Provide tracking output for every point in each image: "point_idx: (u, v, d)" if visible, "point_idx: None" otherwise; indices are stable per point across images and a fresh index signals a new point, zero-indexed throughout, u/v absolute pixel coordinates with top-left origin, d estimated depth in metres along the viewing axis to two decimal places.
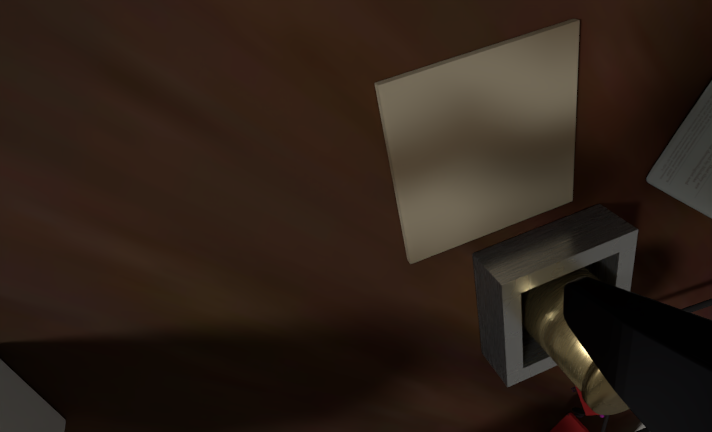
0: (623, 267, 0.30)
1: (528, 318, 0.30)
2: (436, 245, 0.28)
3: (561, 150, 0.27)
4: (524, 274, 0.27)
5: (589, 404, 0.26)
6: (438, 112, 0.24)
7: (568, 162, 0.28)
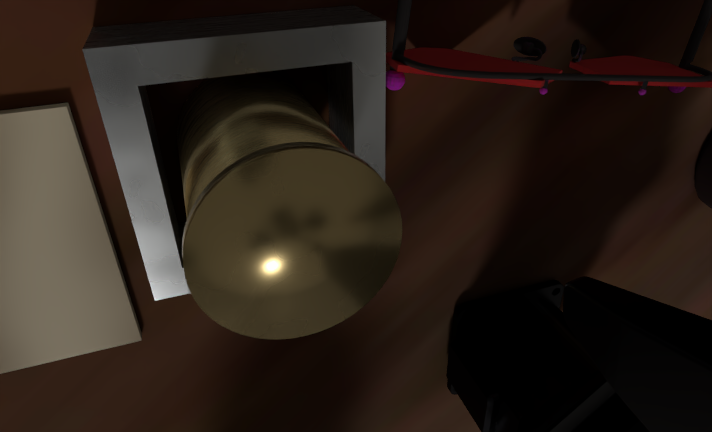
0: (184, 65, 0.14)
1: None
2: (116, 314, 0.21)
3: None
4: (145, 266, 0.17)
5: (330, 325, 0.14)
6: None
7: None
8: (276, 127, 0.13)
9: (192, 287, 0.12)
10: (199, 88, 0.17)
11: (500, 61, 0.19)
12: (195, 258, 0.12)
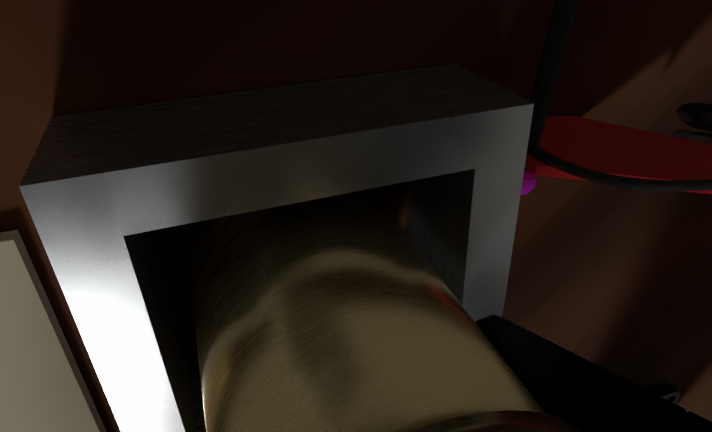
0: (204, 197, 0.08)
1: None
2: None
3: None
4: None
5: None
6: None
7: None
8: (382, 338, 0.07)
9: None
10: None
11: (666, 141, 0.13)
12: None
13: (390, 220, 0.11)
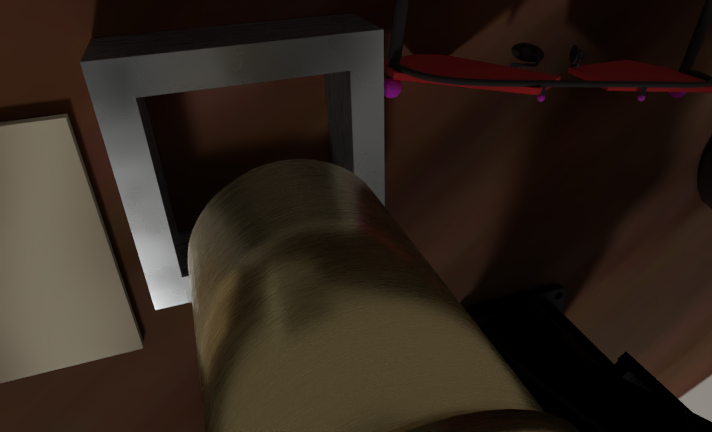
0: (182, 77, 0.14)
1: None
2: (118, 322, 0.21)
3: None
4: (145, 275, 0.17)
5: None
6: None
7: None
8: (381, 336, 0.07)
9: None
10: (222, 196, 0.11)
11: (498, 68, 0.19)
12: None
13: (390, 219, 0.11)
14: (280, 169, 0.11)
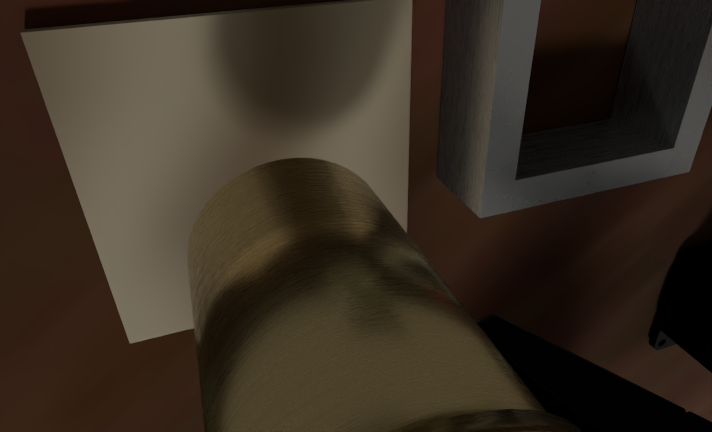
0: None
1: None
2: None
3: (294, 38, 0.14)
4: (483, 176, 0.16)
5: None
6: (179, 266, 0.17)
7: (324, 18, 0.14)
8: (381, 336, 0.07)
9: None
10: (222, 195, 0.11)
11: None
12: None
13: (390, 218, 0.11)
14: (280, 168, 0.11)
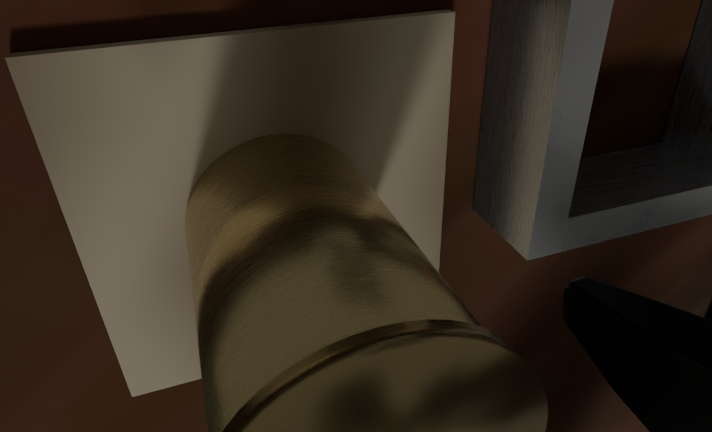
0: None
1: None
2: None
3: (321, 60, 0.13)
4: (533, 215, 0.14)
5: None
6: (187, 313, 0.15)
7: (355, 37, 0.13)
8: (348, 269, 0.08)
9: None
10: (216, 166, 0.13)
11: None
12: None
13: (366, 186, 0.12)
14: (268, 141, 0.13)
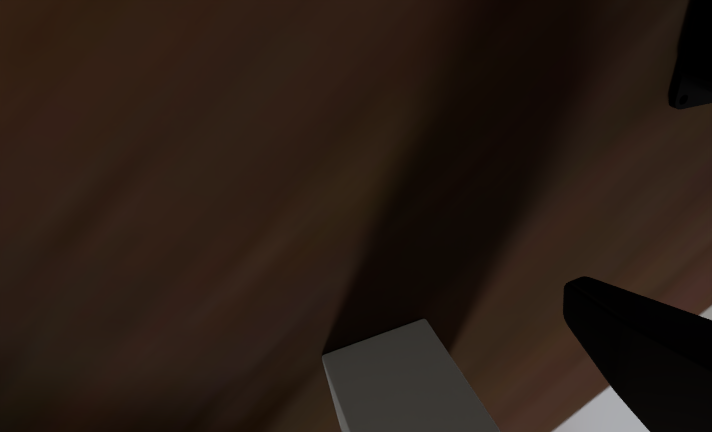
0: None
1: None
2: None
3: None
4: None
5: None
6: None
7: None
8: None
9: None
10: None
11: None
12: None
13: None
14: None
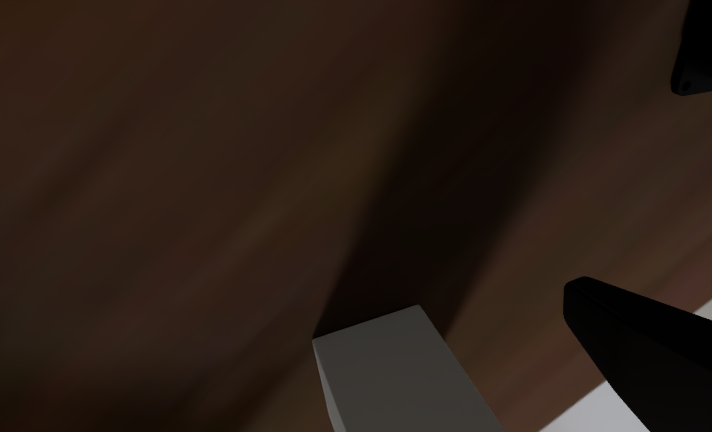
0: None
1: None
2: None
3: None
4: None
5: None
6: None
7: None
8: None
9: None
10: None
11: None
12: None
13: None
14: None
